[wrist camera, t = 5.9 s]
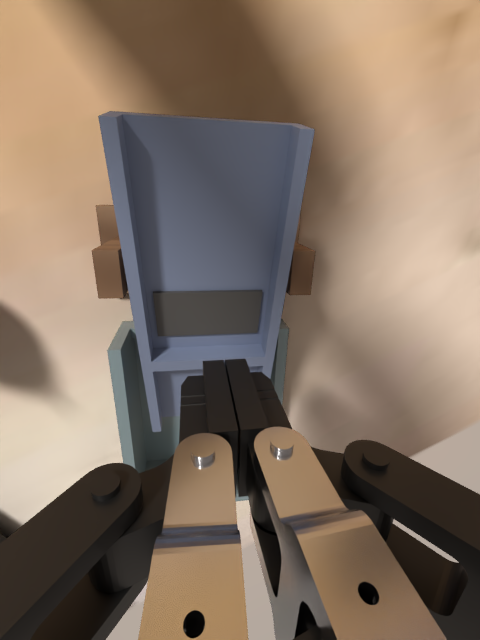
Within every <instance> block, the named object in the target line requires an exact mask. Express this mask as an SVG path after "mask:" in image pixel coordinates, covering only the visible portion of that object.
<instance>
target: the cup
mask: <svg viewBox="0 0 480 640" xmlns="http://www.w3.org/2000/svg"><path fill="white" fill-rule="evenodd" d="M288 334H289V328H288V326H287V325H286V324H285V322H284V321H283V320H282V318H281V322H280V327H279V333H278V339H277V344H276V350H275V355H274V361H273V367H272V372H271V378H270V379H271V382H272V384H273V386H274V388H275V391H276V393H277V395H278V399H279V400H280V402H281V405H282V400H283V389H284V378H285V367H286V356H287V345H288ZM107 351H108V358H109V365H110V372H111V379H112V386H113V393H114V400H115V407H116V414H117V421H118V429H119V436H120V443H121V450H122V457H123V463H124V464H128V465H130V466H132V467H134V468H135V469H136V470H137V471H138V473H142V472H144V471H147V470H150V469H152V468H155V467H157V466H159V465H161V464H163V463H164V462H166V461H167V460H168V459H169V458H170V457H171V456H172V455H173V454H174V453H175V450H176V448H177V446H178V444H179V430H180V416H173V417H162V429H161V431H160V432H153V431H152V425H151V419H150V413H149V408H148V402H147V396H146V390H145V384H144V379H143V373H142V367H141V361H140V355H139V350H138V344H137V338H136V332H135V326H134V321H123V322H122V324H121V326H120V328H119V329H118V331H117V333H116V335H115V337H114V339H113V341H112V343H111V344H110V346H109V348H108V350H107ZM243 500H249V498H248V496H244V497H239V496H238V490H237V489H236V498H235V501H243Z"/></svg>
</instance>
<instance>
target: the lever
mask: <svg viewBox="0 0 480 640" xmlns="http://www.w3.org/2000/svg"><path fill="white" fill-rule="evenodd" d="M98 117H99V123H100V129H101V134H102V140H103V146H104V152H105V158H106V164H107V169H108V175H109V181H110V187H111V193H112V198H113V204H114V210H115V216H116V222H117V227H118V233H119V239H120V245H121V251H122V257H123V262H124V268H125V274H126V280H127V286H128V291H129V297H130V303H131V309H132V315H133V320H134V326H135V332H136V338H137V344H138V350H139V355H140V361H141V367H142V373H143V379H144V384H145V390H146V396H147V402H148V408H149V413H150V419H151V425H152V431H153V432H160V431H161V429H162V417H173V416H180V402H181V385H182V383H183V382H184V381H185V379H186V378H187V376H199V375H203V361H210V360H224V361H225V360H228V359H246V361H247V364H248V367H249V370H250V372H262V373H263V374H265V375H266V376H267V377H268V378H269V379H270V378H271V372H272V367H273V361H274V355H275V350H276V344H277V339H278V333H279V327H280V322H281V316H282V311H283V305H284V299H285V294H286V288H287V283H288V277H289V271H290V266H291V260H292V255H293V249H294V243H295V238H296V232H297V227H298V221H299V215H300V210H301V204H302V199H303V193H304V187H305V182H306V176H307V171H308V165H309V159H310V154H311V148H312V143H313V137H314V131H315V129H312V128H309V127H307V126H304V125H301V124H298V123H283V122H268V121H252V120H237V119H222V118H207V117H191V116H176V115H161V114H145V113H130V112H115V111H109V112H107V113H104V114H102V115H99V116H98Z"/></svg>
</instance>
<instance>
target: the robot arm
mask: <svg viewBox="0 0 480 640" xmlns="http://www.w3.org/2000/svg"><path fill="white" fill-rule="evenodd" d="M236 489H237V490H238V496H239V497H244V496H248V498H249V503H250V527H251V530H252V534H253V538H254V542H255V546H256V549H257V553H258V557H259V561H260V565H261V568H262V572H263V576H264V580H265V583H266V587H267V591H268V594H269V599H270V603H271V607H272V613H273V620H274V631H275V638H276V640H480V495H479V494H478V493H476V492H474V491H472V490H470V489H468V488H466V487H464V486H462V485H460V484H458V483H456V482H455V481H453V480H451V479H449V478H447V477H445V476H443V475H441V474H439V473H437V472H435V471H433V470H431V469H429V468H427V467H426V466H424V465H422V464H420V463H418V462H416V461H414V460H412V459H410V458H408V457H406V456H404V455H402V454H401V453H399V452H397V451H395V450H393V449H391V448H389V447H387V446H385V445H383V444H381V443H378V442H374V441H370V440H358V441H354V442H352V443H350V444H349V445H348V446H347V447H346V449H345V452H344V454H341V453H335V452H329V451H323V450H319V449H316V448H313V447H311V446H310V445H309V443H308V442H307V440H306V439H305V438H304V437H303V436H302V435H301V434H300V433H298V432H296V431H295V430H292V427H291V425H290V423H289V421H288V418H287V416H286V414H285V411H284V409H283V407H282V405H281V402H280V400H279V399H278V395H277V393H276V391H275V388H274V386H273V384H272V382H271V379H269V378H268V377H267V376H266V375H265V374H263V373H262V372H250V370H249V367H248V364H247V361H246V359H228V360H225V361H224V360H210V361H203V375H199V376H187V378H186V379H185V381H184V382H183V383H182V385H181V402H180V430H179V444H178V446H177V448H176V450H175V453H174V454H173V455H172V456H171V457H170V458H169V459H168V460H167V461H166V462H164V463H163V464H161V465H159V466H157V467H155V468H152V469H150V470H147V471H144V472H142V473H138V471H137V470H136V469H135V468H134V467H132V466H130V465H128V464H124V463H111V464H106V465H103V466H100V467H98V468H95V469H94V470H92V471H90V472H89V473H87V474H86V475H85V476H83V477H82V478H81V479H80V480H78V481H77V482H76V483H75V484H73V485H72V486H71V487H70V488H68V489H67V490H66V491H65V492H64V493H62V494H61V495H60V496H59V497H57V498H56V499H55V500H54V501H52V502H51V503H50V504H49V505H47V506H46V507H45V508H44V509H42V510H41V511H40V512H39V513H38V514H36V515H35V516H34V517H33V518H31V519H30V520H29V521H28V522H26V523H25V524H24V525H23V526H21V527H20V528H19V529H18V530H16V531H15V532H14V533H13V534H12V535H10V536H9V537H8V538H7V539H5V540H4V541H3V542H2V543H0V640H106V638H107V637H108V636H109V634H110V633H111V632H112V630H113V629H114V627H115V626H116V625H117V623H118V622H119V621H120V619H121V618H122V616H123V615H124V614H125V612H126V611H127V610H128V608H129V607H130V606H131V604H132V603H133V601H134V600H135V599H136V597H137V596H138V595H139V593H140V592H141V591H142V589H143V588H144V586H145V585H146V583H147V581H148V584H147V590H146V596H145V602H144V608H143V614H142V620H141V626H140V632H139V638H138V640H248V629H247V616H246V603H245V590H244V578H243V564H242V552H241V539H240V532H239V530H238V528H237V515H236V501H235V498H236ZM393 519H395V520H397V521H398V522H400V523H401V524H403V525H404V526H406V527H407V528H409V529H411V530H412V531H414V532H415V533H417V534H418V535H420V536H421V537H423V538H424V539H426V540H428V541H429V542H431V543H432V544H434V545H435V546H437V547H438V548H440V549H441V550H443V551H444V552H446V553H447V554H449V555H450V556H452V557H453V558H455V559H456V560H457V561H458V562H459V563H455V562H452V561H449V560H447V559H446V558H444V557H442V556H441V555H439V554H438V553H436V552H435V551H433V550H432V549H430V548H428V547H427V546H426V545H424V544H423V543H421V542H420V541H418V540H416V539H415V538H414V537H412V536H411V535H409V534H408V533H406V532H405V531H403V530H401V529H400V528H399V527H397V526H396V525H394V524H393V523H392V522H393Z"/></svg>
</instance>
